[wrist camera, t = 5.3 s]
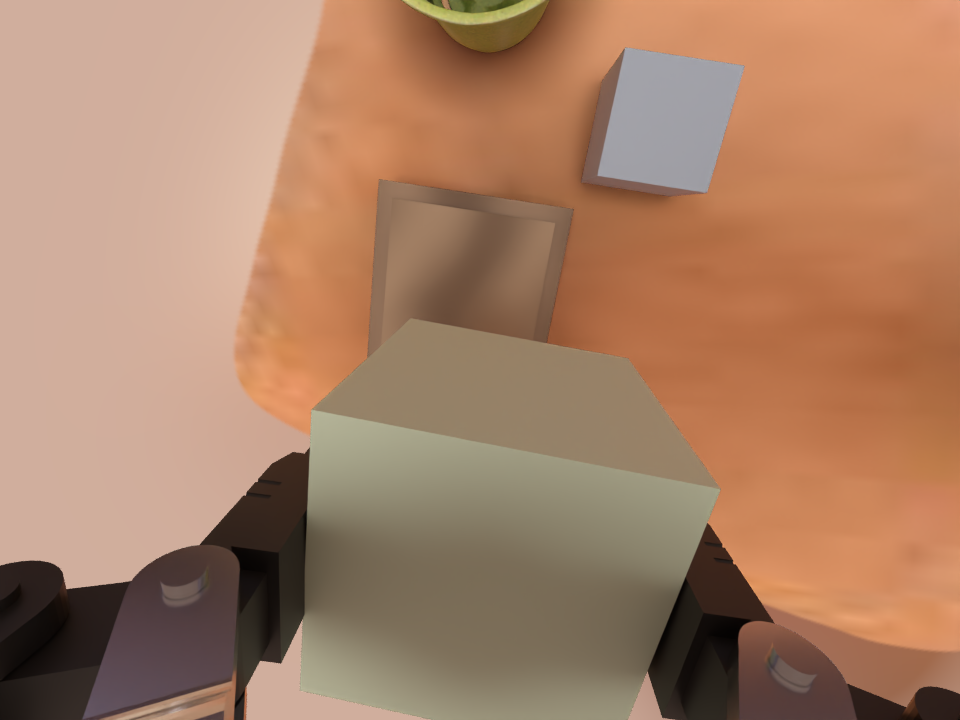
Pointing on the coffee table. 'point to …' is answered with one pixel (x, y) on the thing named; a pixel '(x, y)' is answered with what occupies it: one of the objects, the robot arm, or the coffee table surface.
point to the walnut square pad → (465, 262)
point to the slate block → (660, 123)
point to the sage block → (494, 529)
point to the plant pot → (484, 20)
